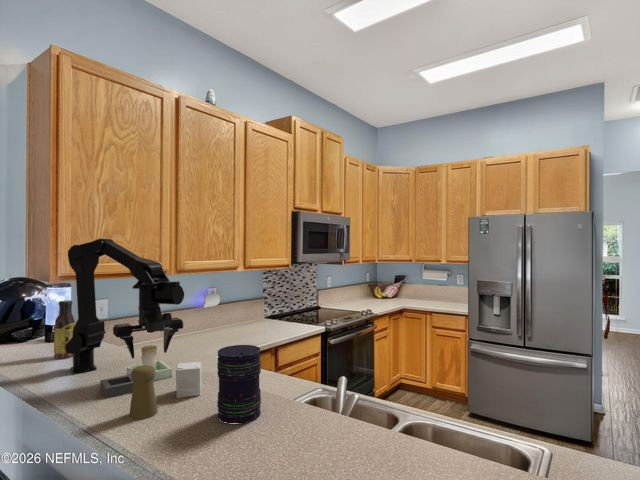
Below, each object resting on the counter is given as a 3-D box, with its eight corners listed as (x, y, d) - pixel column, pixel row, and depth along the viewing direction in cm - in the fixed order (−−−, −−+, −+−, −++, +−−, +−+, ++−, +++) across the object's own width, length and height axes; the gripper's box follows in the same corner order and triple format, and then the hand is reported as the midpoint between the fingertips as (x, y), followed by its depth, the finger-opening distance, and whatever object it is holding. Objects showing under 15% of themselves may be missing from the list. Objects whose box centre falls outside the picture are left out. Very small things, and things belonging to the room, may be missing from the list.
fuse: (139, 373, 117) (139, 347, 117) (154, 370, 119) (154, 344, 119) (143, 377, 113) (143, 350, 114) (158, 374, 116) (158, 347, 116)
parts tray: (126, 374, 118) (126, 366, 118) (160, 368, 124) (160, 360, 124) (136, 384, 109) (136, 375, 109) (172, 377, 115) (172, 368, 115)
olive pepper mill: (129, 422, 86) (129, 372, 86) (128, 411, 91) (128, 365, 92) (158, 416, 89) (158, 368, 89) (156, 406, 94) (156, 361, 94)
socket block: (100, 389, 106) (100, 380, 106) (131, 382, 111) (131, 374, 111) (105, 398, 99) (105, 388, 99) (139, 390, 104) (139, 381, 104)
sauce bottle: (67, 359, 134) (67, 302, 134) (49, 359, 134) (49, 302, 134) (79, 354, 141) (79, 299, 141) (62, 354, 141) (62, 299, 141)
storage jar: (214, 410, 92) (214, 347, 92) (255, 403, 96) (254, 342, 96) (221, 428, 83) (221, 358, 83) (266, 420, 86) (265, 353, 87)
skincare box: (201, 387, 107) (201, 360, 107) (200, 396, 101) (200, 367, 101) (178, 389, 105) (178, 362, 105) (175, 398, 99) (175, 369, 99)
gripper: (121, 310, 105) (121, 368, 104) (189, 303, 116) (189, 355, 116) (112, 305, 113) (112, 359, 113) (177, 299, 125) (177, 347, 125)
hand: (149, 355), depth 117 cm, fingers open, 9 cm apart
